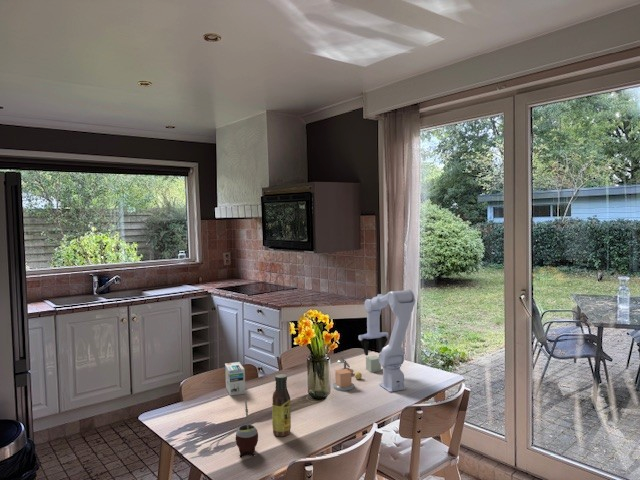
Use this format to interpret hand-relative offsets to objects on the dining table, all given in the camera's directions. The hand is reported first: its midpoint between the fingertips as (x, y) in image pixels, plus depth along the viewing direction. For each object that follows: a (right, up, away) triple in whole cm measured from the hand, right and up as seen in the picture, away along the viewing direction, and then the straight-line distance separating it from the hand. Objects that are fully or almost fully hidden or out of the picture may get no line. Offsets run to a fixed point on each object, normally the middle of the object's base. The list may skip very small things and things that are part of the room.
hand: (373, 353), depth 215 cm
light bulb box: (-61, -12, -16) cm, 64 cm away
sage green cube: (+1, -10, +7) cm, 12 cm away
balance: (-13, -10, +6) cm, 17 cm away
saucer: (-15, -11, -14) cm, 23 cm away
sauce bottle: (-38, -14, -55) cm, 68 cm away
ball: (-8, -10, -5) cm, 14 cm away
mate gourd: (-48, -15, -68) cm, 84 cm away
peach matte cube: (-15, -10, -14) cm, 22 cm away
